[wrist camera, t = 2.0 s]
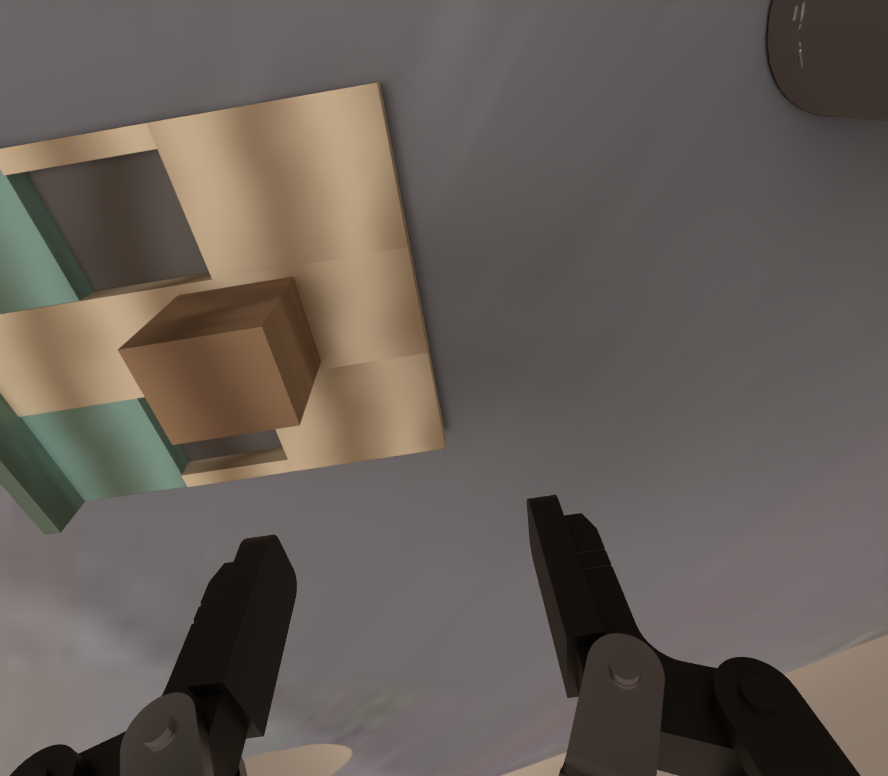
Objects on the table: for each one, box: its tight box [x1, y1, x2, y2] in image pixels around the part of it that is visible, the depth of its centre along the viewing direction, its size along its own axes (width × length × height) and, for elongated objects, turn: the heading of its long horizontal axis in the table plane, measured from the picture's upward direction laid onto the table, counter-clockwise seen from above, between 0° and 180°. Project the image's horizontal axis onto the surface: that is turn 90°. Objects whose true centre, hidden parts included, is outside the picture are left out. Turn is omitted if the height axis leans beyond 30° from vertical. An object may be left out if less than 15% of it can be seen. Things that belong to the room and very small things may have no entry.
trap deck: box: [0, 83, 446, 535], centre depth 26 cm, size 25×20×4 cm
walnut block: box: [118, 277, 321, 445], centre depth 23 cm, size 6×5×6 cm
